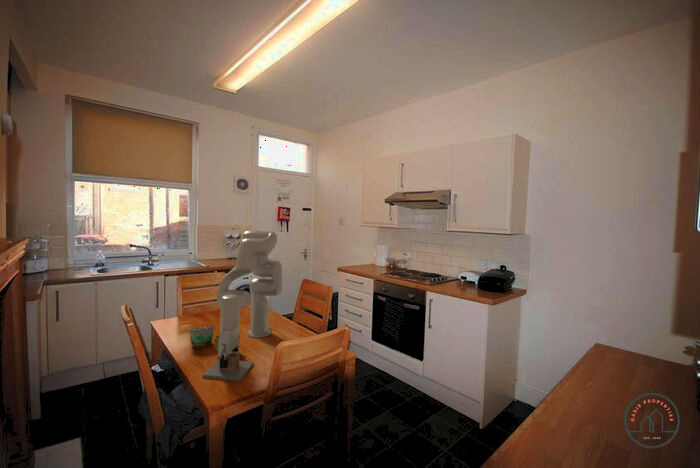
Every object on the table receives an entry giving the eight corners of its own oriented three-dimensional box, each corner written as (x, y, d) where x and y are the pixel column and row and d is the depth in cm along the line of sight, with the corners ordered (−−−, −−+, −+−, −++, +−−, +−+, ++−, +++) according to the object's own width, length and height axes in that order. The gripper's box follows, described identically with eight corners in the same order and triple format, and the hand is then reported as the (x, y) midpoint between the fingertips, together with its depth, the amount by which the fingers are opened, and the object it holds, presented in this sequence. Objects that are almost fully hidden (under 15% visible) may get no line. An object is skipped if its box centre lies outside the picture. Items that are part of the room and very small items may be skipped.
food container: (188, 351, 153) (188, 331, 152) (188, 346, 158) (188, 327, 157) (215, 347, 158) (216, 328, 158) (214, 342, 164) (215, 324, 163)
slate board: (220, 361, 145) (220, 358, 145) (253, 364, 143) (253, 361, 143) (202, 377, 131) (202, 374, 131) (239, 381, 129) (239, 378, 129)
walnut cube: (226, 363, 140) (226, 350, 140) (239, 365, 140) (239, 352, 139) (219, 370, 134) (219, 357, 134) (232, 372, 134) (232, 358, 133)
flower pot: (229, 358, 148) (229, 340, 147) (212, 356, 149) (213, 337, 149) (239, 350, 156) (239, 333, 155) (223, 348, 158) (224, 330, 157)
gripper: (231, 316, 144) (230, 352, 146) (210, 330, 127) (210, 371, 128) (246, 317, 143) (246, 354, 145) (228, 332, 126) (227, 373, 128)
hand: (229, 362), depth 137 cm, fingers open, 9 cm apart
